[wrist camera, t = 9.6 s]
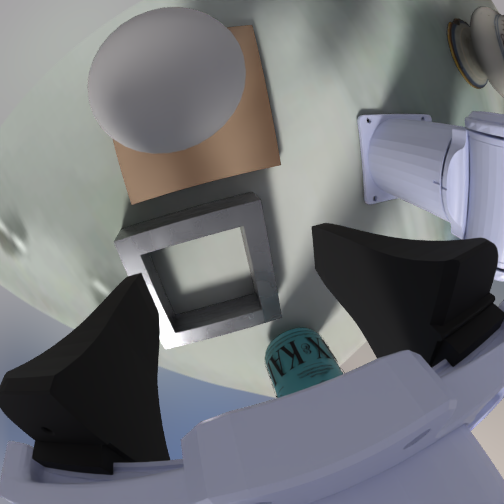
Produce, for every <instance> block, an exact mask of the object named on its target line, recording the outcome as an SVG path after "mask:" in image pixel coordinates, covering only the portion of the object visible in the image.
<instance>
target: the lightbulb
mask: <svg viewBox="0 0 504 504" xmlns="http://www.w3.org/2000/svg"><path fill="white" fill-rule="evenodd" d="M245 77H246V69H245V62H244V55H243V53H242V50H241V48H240V45H239V43H238V41H237V40H236V38H235V37H234V35H233V34H232V32H231V31H230V30H229V29H227V28H226V27H225V26H224V25H223V24H222V23H221V22H220V21H218V20H217V19H215V18H213V17H212V16H210V15H208V14H206V13H204V12H201V11H198V10H195V9H190V8H183V7H167V8H160V9H155V10H151V11H147V12H145V13H142V14H140V15H137V16H135V17H133V18H131V19H130V20H128V21H127V22H125V23H123V24H122V25H120V26H119V27H118V28H117V29H116V30H115V31H114V32H112V33H111V34H110V35H109V36H108V38H107V39H106V40H105V41H104V43H103V44H102V45H101V46H100V48H99V50H98V52H97V54H96V55H95V57H94V59H93V62H92V65H91V68H90V71H89V77H88V97H89V103H90V106H91V109H92V112H93V115H94V117H95V119H96V120H97V122H98V123H99V125H100V127H101V128H102V129H103V130H104V131H105V132H106V133H107V134H108V135H109V136H110V137H111V138H113V139H114V140H116V141H117V142H119V143H120V144H122V145H124V146H125V147H128V148H131V149H133V150H136V151H139V152H146V153H152V154H158V153H172V152H176V151H181V150H185V149H187V148H190V147H192V146H195V145H197V144H199V143H201V142H203V141H204V140H206V139H208V138H209V137H211V136H212V135H214V134H215V133H216V132H217V131H218V130H219V129H220V128H222V127H223V126H224V125H225V123H226V122H227V121H228V120H229V118H230V117H231V116H232V115H233V113H234V112H235V110H236V108H237V106H238V104H239V102H240V100H241V97H242V94H243V90H244V87H245Z"/></svg>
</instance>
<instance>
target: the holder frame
mask: <svg viewBox="0 0 504 504" xmlns="http://www.w3.org/2000/svg"><path fill="white" fill-rule="evenodd" d="M237 227H240V228H241V233H242V237H243V242H244V246H245V250H246V255H247V259H248V264H249V268H250V272H251V277H252V281H253V285H254V290H255V293H254V294H251V295H247V296H244V297H240V298H237V299H233V300H230V301H226V302H223V303H219V304H215V305H212V306H208V307H204V308H201V309H197V310H193V311H189V312H186V313H182V314H178V315H175V313H174V311H173V309H172V307H171V305H170V302H169V300H168V298H167V295H166V293H165V291H164V288H163V286H162V284H161V281H160V279H159V276H158V274H157V271H156V269H155V266H154V264H153V261H152V259H151V256H150V254H149V252H152V251H155V250H159V249H162V248H166V247H169V246H172V245H176V244H179V243H183V242H186V241H190V240H194V239H197V238H201V237H204V236H208V235H211V234H215V233H219V232H222V231H226V230H230V229H233V228H237ZM114 244H115V246H116V249H117V251H118V254H119V256H120V258H121V261H122V263H123V265H124V268H125V270H126V272H127V274H128V276H131V275H134V274H138V273H142V275H143V278H144V280H145V282H146V285H147V287H148V289H149V291H150V294H151V296H152V298H153V300H154V302H155V305H156V307H157V309H158V311H159V320H160V340H161V342H162V344H163V346H164V347H165V349H169V348H173V347H177V346H181V345H186V344H190V343H194V342H198V341H202V340H206V339H209V338H213V337H217V336H221V335H225V334H228V333H232V332H235V331H239V330H242V329H246V328H249V327H253V326H256V325H259V324H263V323H266V322H269V321H273V320H276V319H279V318H282V315H281V309H280V303H279V298H278V292H277V286H276V280H275V275H274V269H273V263H272V258H271V252H270V247H269V241H268V236H267V230H266V225H265V219H264V214H263V209H262V204H261V200H260V199H259V198H258V197H257V196H256V195H255V194H254V193H253V192H249V193H245V194H241V195H237V196H233V197H230V198H226V199H222V200H218V201H214V202H211V203H207V204H203V205H200V206H196V207H192V208H189V209H185V210H182V211H178V212H175V213H172V214H168V215H165V216H162V217H158V218H155V219H152V220H148V221H145V222H142V223H139V224H136V225H133V226H130V227H126V228H123V229H121V230H120V232H119V234H118V235H117V237H116V239H115V241H114Z"/></svg>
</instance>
